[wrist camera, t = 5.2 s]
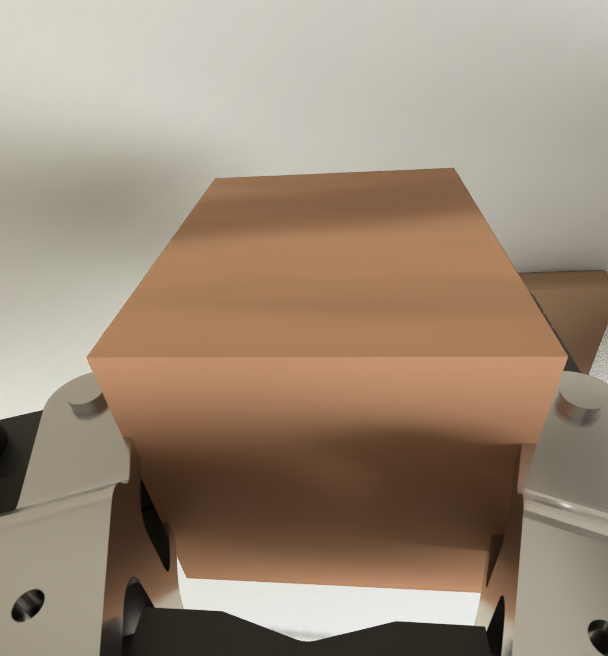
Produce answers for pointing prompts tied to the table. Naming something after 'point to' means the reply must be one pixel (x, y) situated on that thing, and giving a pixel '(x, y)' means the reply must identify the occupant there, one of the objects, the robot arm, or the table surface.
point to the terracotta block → (332, 381)
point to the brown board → (573, 309)
